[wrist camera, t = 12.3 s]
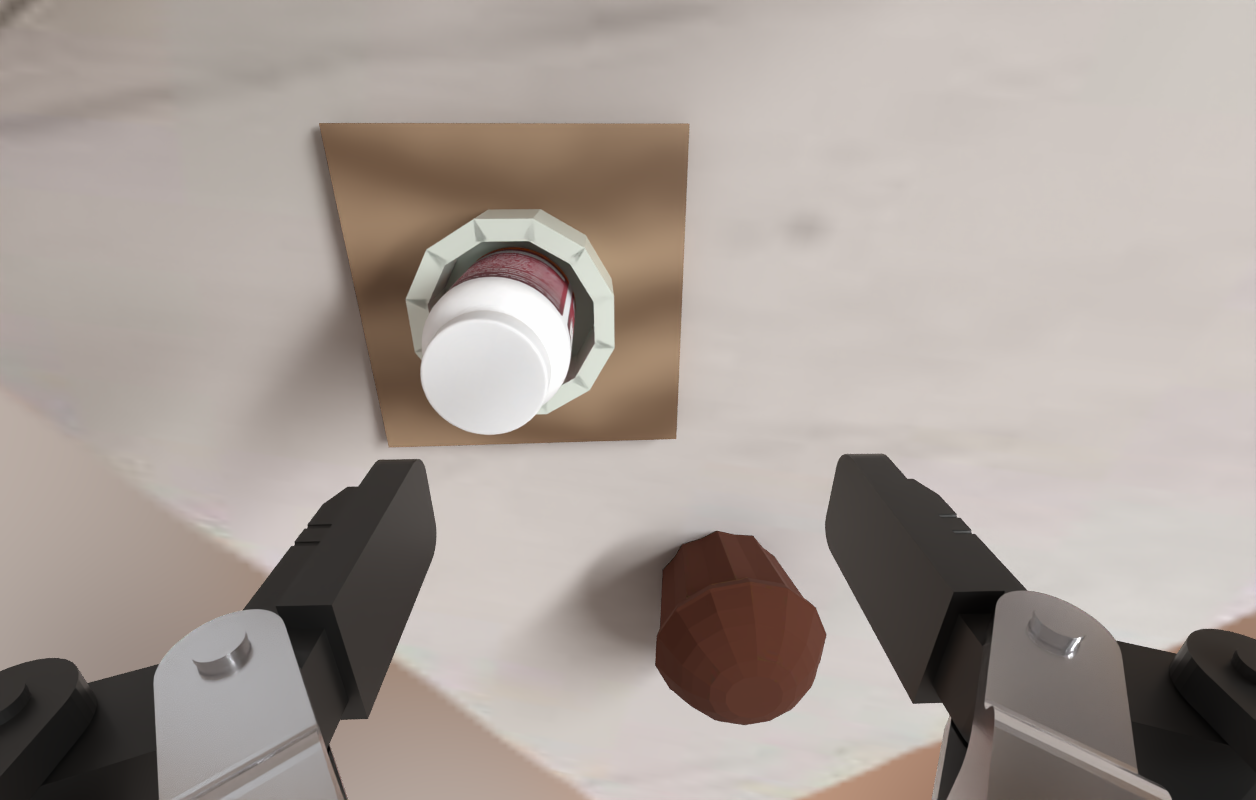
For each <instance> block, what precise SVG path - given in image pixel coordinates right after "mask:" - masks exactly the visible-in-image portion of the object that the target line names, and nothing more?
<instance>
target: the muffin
mask: <svg viewBox="0 0 1256 800" xmlns="http://www.w3.org/2000/svg"><path fill="white" fill-rule="evenodd" d="M825 638H826V632H825V630H824V627H823V625H822V622H821V620H820V617H819V615H818V612H817V610H816V608H815V607H814V606H813V605H812V604H811V603H810V602H809V601H807V600H806V599H804V598H803V596H802V595H801V593H800V592H799V591H798V589H797V588H796V586H795V585H794V584H793V582H792V581H791V579H790V578H789V577H788V575H787V574H786V572H785V571H784V569H783V568H782V567H781V565H780V564H779V562H778V561H777V560H776V558H775V557H774V556H773V555H772V554H770V553H769V552H768V551H767V550H765V549H764V548H763V547H762V546H761V545H760V544H759V543H758V541H757V540H756V539H755V538H754V536H748V535H734V534H729V533H725V532H720V531H716V532H714V533H712V534H710V535H707V536H705V537H703V538H701V539H698V540H695V541H692V542H688V543H685V544H682V546H681V547H680V549H679V551H678V552H677V554H676V555H675V557H674V558H673V560H672V561H671V562H670V563H669V564H668V565H667V566H666V567H665V568H664V569H663V576H662V598H661V620H660V630H659V632H658V635H657V641H656V661H655V666H656V667H657V669H658V670H659V672H660V674H661V675H662V677H663V678H664V680H665V682H666V683H667V685H668V686H669V688H670V689H671V690H672V691H674V692H675V693H676V694H677V695H678V696H679V697H681V698H682V699H683V700H684V701H685V702H687V703H688V704H689V705H691V706H692V707H693V708H695V709H697V710H698V711H700V712H702V713H704V714H705V715H707V716H709V717H710V718H712V719H714V720H717V721H721V722H728V723H734V724H741V725H748V724H754V723H760V722H766V721H770V720H772V719H774V718H776V717H778V716H780V715H782V714H784V713H785V712H787V711H789V710H791V709H792V708H793V707H795V706H796V704H797V703H798V702H799V701H800V700H801V698H802V697H803V696H804V695H805V694H806V693H807V691H808V690H809V689H810V688H811V686H812V684H813V682H814V679H815V676H816V672H817V668H818V665H819V663H820V660H821V655H822V651H823V647H824V643H825Z"/></svg>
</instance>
